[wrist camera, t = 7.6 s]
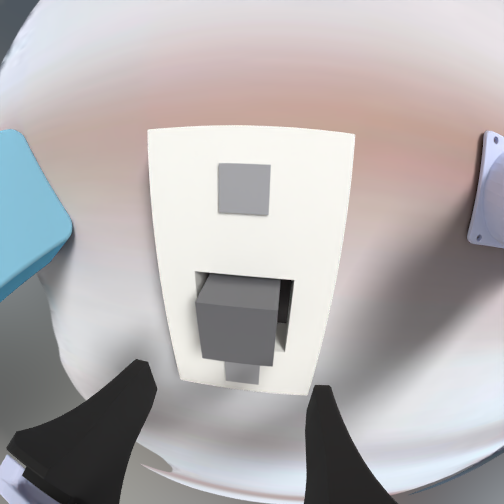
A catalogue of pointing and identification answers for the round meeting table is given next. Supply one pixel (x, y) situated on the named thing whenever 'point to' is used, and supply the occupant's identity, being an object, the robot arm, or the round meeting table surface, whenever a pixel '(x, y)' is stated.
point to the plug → (238, 318)
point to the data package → (26, 215)
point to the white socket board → (250, 236)
